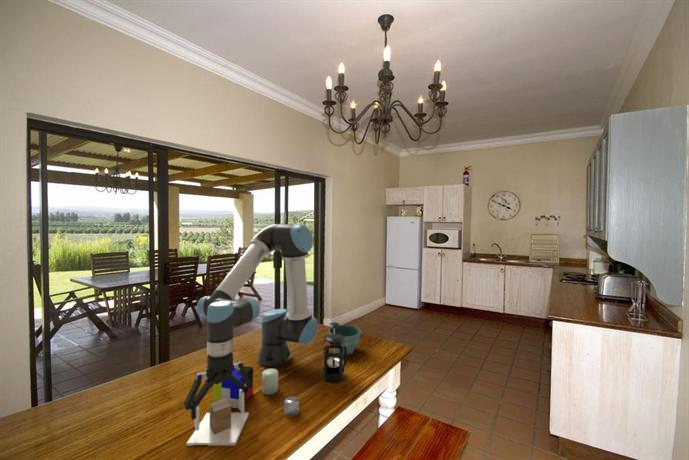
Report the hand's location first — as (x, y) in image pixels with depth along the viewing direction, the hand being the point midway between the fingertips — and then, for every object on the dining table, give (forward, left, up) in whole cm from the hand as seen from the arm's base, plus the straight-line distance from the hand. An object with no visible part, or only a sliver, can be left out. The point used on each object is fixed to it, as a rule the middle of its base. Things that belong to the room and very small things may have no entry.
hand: (220, 419), depth 96 cm
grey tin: (+6, +22, -3) cm, 23 cm away
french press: (-4, +48, -3) cm, 48 cm away
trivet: (0, 0, -3) cm, 3 cm away
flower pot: (-21, +67, -4) cm, 70 cm away
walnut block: (0, 0, -2) cm, 2 cm away
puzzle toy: (-14, +9, -4) cm, 17 cm away
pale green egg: (-11, +22, -3) cm, 25 cm away
